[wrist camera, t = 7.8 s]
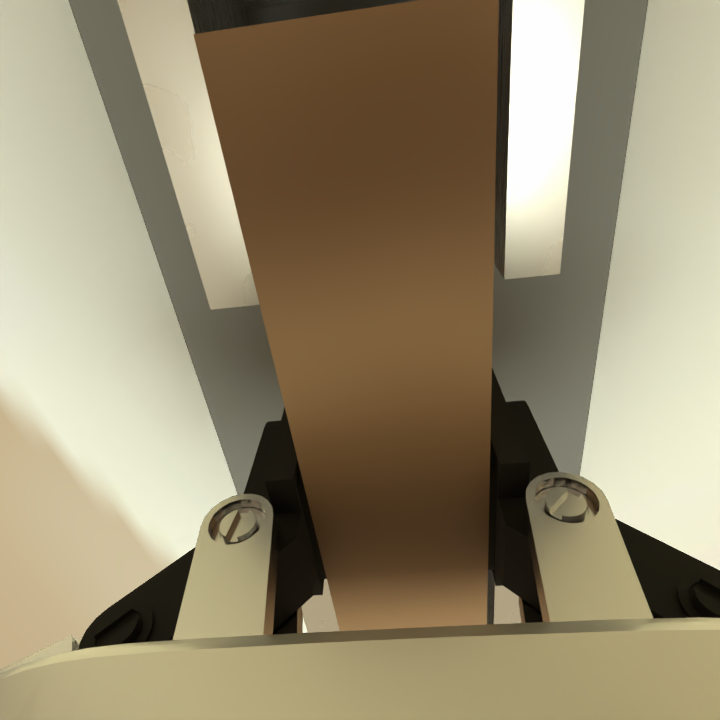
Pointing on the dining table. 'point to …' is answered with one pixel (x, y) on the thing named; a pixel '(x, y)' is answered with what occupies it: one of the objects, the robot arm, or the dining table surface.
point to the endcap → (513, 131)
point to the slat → (376, 283)
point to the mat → (510, 296)
